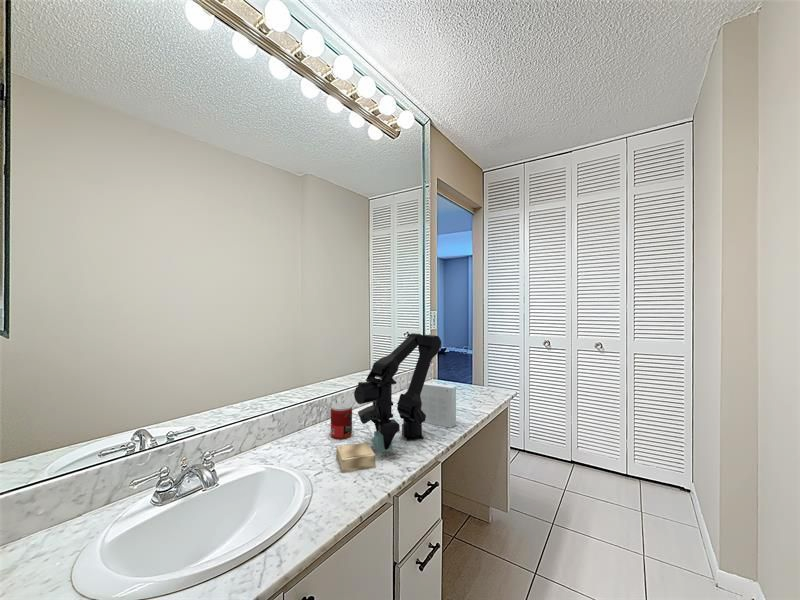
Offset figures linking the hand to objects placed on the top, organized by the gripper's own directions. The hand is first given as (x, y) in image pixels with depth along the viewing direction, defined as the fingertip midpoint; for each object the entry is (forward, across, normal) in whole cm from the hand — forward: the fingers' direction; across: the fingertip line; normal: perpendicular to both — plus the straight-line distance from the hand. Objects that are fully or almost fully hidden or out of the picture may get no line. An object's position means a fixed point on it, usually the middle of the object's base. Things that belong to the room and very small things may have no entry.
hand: (382, 444), depth 114 cm
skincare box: (+1, -19, +26) cm, 32 cm away
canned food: (+1, -15, -12) cm, 19 cm away
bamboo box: (+2, +8, -11) cm, 14 cm away
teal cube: (+1, 0, 0) cm, 1 cm away
